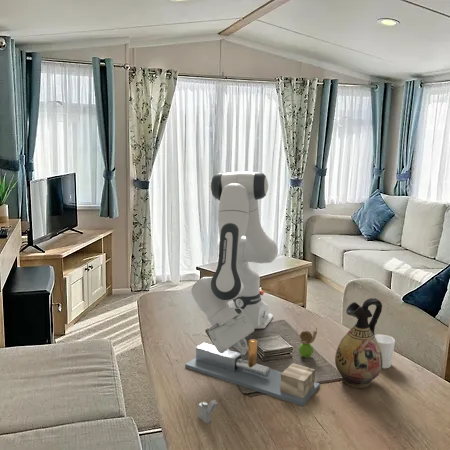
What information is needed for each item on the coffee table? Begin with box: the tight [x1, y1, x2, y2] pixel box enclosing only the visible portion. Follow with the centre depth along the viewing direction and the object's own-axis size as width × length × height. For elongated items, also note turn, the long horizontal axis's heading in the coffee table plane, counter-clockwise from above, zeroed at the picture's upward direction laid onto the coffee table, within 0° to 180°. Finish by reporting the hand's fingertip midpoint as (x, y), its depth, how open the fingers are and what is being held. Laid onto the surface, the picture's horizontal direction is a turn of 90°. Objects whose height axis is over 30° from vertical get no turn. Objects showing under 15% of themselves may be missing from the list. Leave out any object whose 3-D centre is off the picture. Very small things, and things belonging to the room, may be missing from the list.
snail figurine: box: [298, 327, 318, 359], centre depth 185 cm, size 5×6×12 cm
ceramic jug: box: [334, 297, 383, 389], centre depth 166 cm, size 17×15×30 cm
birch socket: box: [280, 362, 316, 398], centre depth 160 cm, size 9×8×6 cm
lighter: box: [197, 399, 218, 424], centre depth 143 cm, size 7×2×8 cm, turn 38°
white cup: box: [374, 333, 396, 369], centre depth 180 cm, size 8×8×10 cm
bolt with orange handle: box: [235, 338, 271, 377], centre depth 171 cm, size 3×24×11 cm, turn 58°
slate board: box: [184, 356, 320, 407], centre depth 170 cm, size 14×45×1 cm, turn 58°
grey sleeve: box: [195, 342, 243, 372], centre depth 176 cm, size 5×16×5 cm, turn 58°
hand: (246, 353), depth 169 cm, fingers closed, pressing on bolt with orange handle
